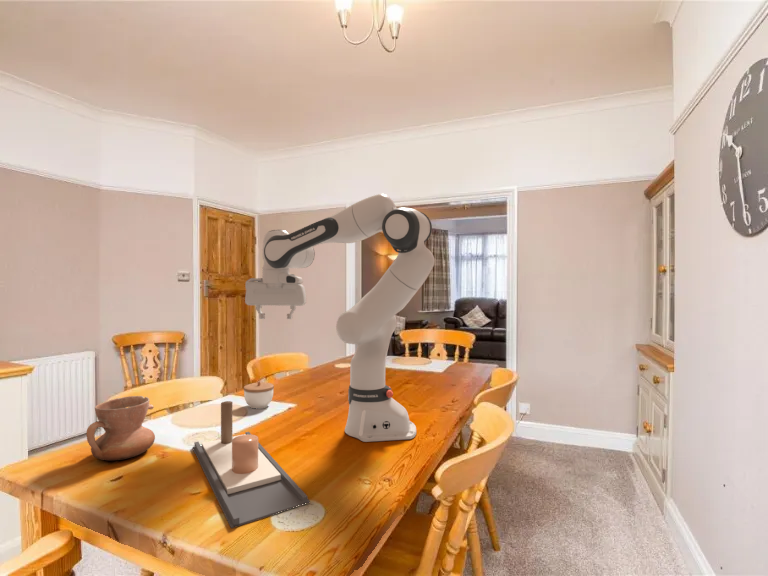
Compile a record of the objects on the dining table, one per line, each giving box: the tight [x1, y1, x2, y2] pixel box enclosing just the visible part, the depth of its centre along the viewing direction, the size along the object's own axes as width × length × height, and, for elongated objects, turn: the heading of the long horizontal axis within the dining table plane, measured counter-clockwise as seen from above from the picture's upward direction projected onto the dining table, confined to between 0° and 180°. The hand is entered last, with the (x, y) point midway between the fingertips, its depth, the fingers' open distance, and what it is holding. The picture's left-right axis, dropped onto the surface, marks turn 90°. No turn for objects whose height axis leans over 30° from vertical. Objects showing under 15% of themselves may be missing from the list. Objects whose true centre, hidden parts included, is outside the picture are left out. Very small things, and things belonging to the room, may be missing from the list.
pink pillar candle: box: [232, 434, 259, 474], centre depth 98 cm, size 6×6×7 cm
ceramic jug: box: [86, 395, 156, 461], centre depth 109 cm, size 18×14×14 cm
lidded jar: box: [243, 380, 275, 410], centre depth 151 cm, size 11×11×9 cm
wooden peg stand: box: [201, 400, 281, 495], centre depth 104 cm, size 30×12×12 cm, turn 34°
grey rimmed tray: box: [192, 431, 310, 529], centre depth 100 cm, size 44×16×2 cm, turn 34°
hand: (275, 318), depth 138 cm, fingers open, 8 cm apart
